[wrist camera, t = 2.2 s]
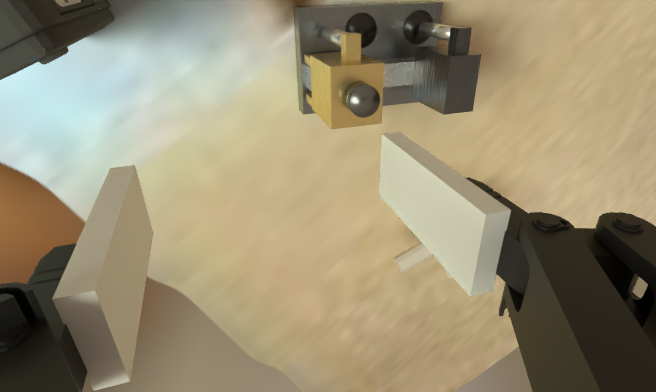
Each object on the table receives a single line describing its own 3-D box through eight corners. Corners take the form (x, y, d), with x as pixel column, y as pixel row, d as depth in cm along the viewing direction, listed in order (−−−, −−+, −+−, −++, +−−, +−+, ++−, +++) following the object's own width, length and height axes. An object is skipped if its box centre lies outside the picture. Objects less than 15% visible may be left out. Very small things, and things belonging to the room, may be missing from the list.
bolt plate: (432, 1, 34) (498, 5, 26) (424, 96, 37) (479, 122, 30) (293, 7, 31) (324, 13, 23) (299, 109, 34) (327, 142, 27)
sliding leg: (348, 25, 30) (395, 36, 24) (348, 99, 33) (390, 129, 26) (303, 27, 30) (336, 40, 23) (306, 103, 32) (338, 136, 25)
